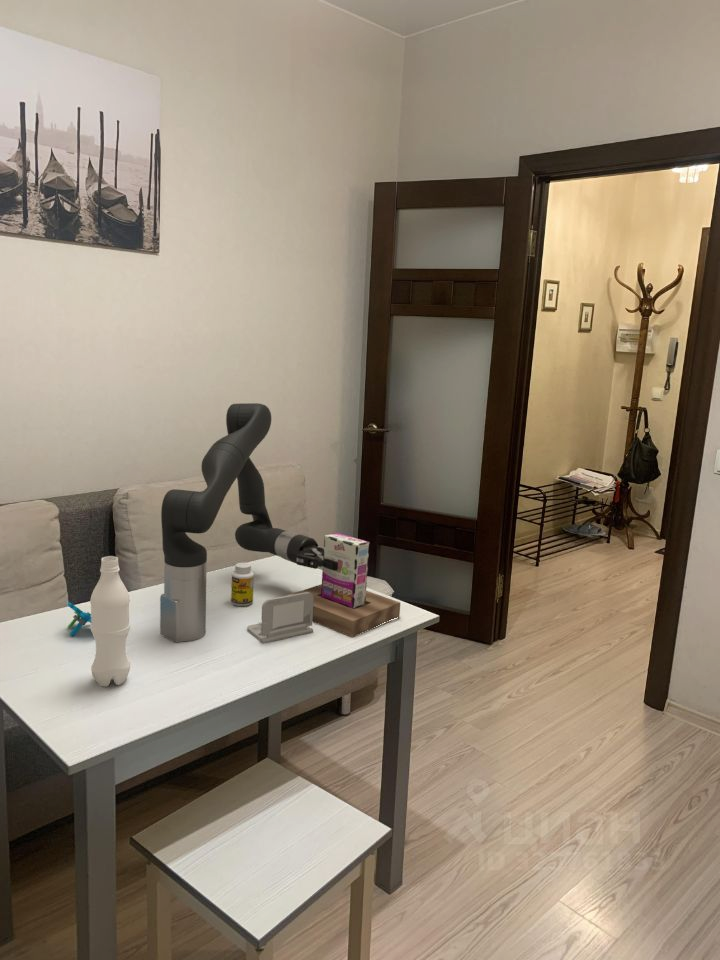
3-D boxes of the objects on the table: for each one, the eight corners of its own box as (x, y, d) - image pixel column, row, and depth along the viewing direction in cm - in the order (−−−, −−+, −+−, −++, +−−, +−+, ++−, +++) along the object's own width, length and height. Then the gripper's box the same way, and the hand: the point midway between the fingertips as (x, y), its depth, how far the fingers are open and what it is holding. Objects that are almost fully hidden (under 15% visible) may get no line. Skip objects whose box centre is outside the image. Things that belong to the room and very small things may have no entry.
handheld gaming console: (293, 619, 180) (294, 580, 178) (313, 633, 173) (315, 592, 171) (244, 629, 172) (245, 589, 170) (263, 644, 165) (264, 602, 163)
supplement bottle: (227, 605, 186) (228, 566, 184) (236, 597, 191) (237, 560, 189) (247, 608, 185) (248, 569, 183) (256, 601, 190) (257, 563, 188)
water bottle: (93, 691, 139) (90, 565, 134) (90, 675, 146) (88, 554, 141) (132, 686, 142) (131, 562, 137) (128, 670, 149) (127, 551, 144)
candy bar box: (366, 605, 182) (371, 541, 179) (353, 610, 179) (357, 545, 175) (333, 592, 189) (337, 531, 186) (319, 597, 186) (323, 534, 182)
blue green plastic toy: (113, 630, 163) (78, 604, 158) (94, 653, 161) (58, 627, 156) (99, 620, 172) (65, 595, 168) (81, 641, 170) (47, 616, 166)
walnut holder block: (352, 637, 171) (352, 621, 170) (286, 610, 185) (286, 595, 184) (399, 617, 185) (400, 602, 184) (334, 593, 198) (335, 579, 198)
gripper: (276, 538, 187) (325, 555, 176) (315, 529, 198) (364, 544, 187) (275, 567, 188) (323, 585, 178) (314, 556, 199) (362, 573, 188)
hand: (344, 564), depth 182 cm, fingers closed on candy bar box, 5 cm apart
